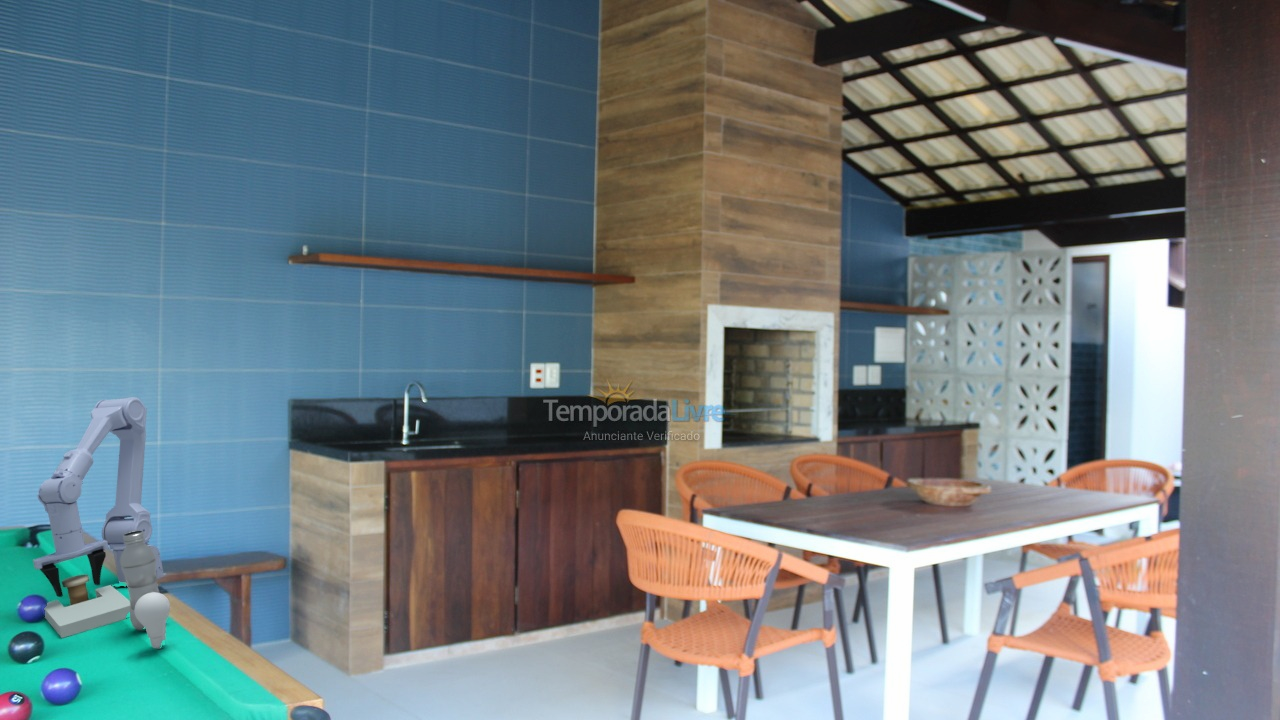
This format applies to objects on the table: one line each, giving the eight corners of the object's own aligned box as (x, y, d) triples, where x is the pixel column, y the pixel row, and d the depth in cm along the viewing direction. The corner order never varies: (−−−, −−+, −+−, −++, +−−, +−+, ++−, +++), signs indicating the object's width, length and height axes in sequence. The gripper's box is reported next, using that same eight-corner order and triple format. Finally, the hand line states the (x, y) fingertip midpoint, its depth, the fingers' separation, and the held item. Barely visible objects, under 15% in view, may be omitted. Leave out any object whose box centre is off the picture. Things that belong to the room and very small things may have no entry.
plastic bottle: (154, 633, 198) (136, 537, 196) (125, 634, 200) (107, 539, 197) (175, 621, 204) (158, 527, 202) (147, 622, 206) (129, 529, 203)
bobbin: (99, 603, 223) (93, 573, 222) (83, 612, 218) (77, 582, 217) (78, 605, 224) (73, 575, 223) (62, 614, 218) (56, 583, 218)
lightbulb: (135, 653, 188) (124, 598, 187) (163, 640, 193) (153, 586, 192) (156, 656, 185) (145, 600, 184) (184, 643, 191) (174, 588, 189)
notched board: (136, 615, 211) (133, 604, 211) (61, 638, 202) (59, 626, 202) (112, 595, 228) (110, 584, 228) (43, 615, 219) (40, 604, 219)
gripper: (96, 519, 226) (107, 576, 228) (24, 538, 216) (36, 598, 218) (106, 523, 221) (118, 581, 223) (34, 542, 211) (46, 603, 213)
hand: (78, 590), depth 220 cm, fingers open, 7 cm apart
